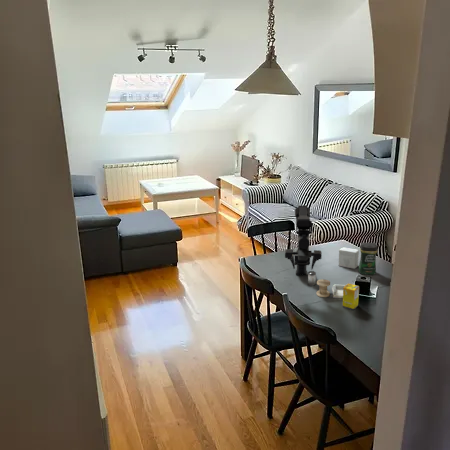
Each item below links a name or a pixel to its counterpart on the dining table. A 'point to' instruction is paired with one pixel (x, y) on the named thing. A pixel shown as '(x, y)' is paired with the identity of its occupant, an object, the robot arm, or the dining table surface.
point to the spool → (323, 288)
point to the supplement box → (350, 296)
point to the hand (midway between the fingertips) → (302, 269)
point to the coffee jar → (368, 258)
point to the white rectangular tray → (338, 290)
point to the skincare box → (348, 257)
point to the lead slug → (311, 278)
